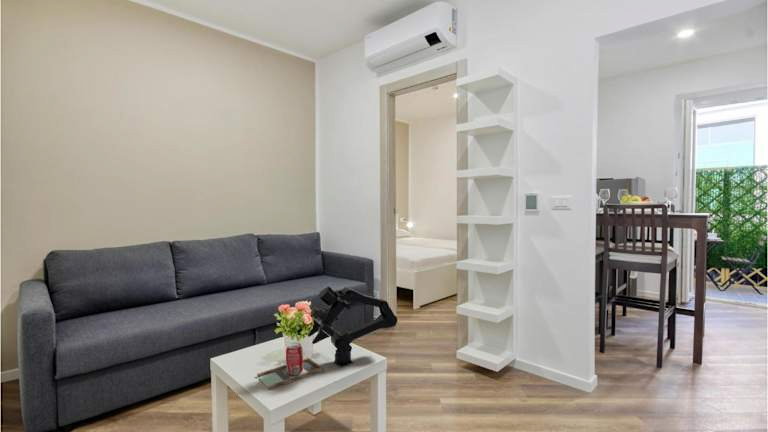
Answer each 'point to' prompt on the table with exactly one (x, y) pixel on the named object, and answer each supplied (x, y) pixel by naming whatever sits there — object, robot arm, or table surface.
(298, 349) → the soda can
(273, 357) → the table surface
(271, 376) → the pad
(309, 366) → the trap strips
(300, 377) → the trap lane
